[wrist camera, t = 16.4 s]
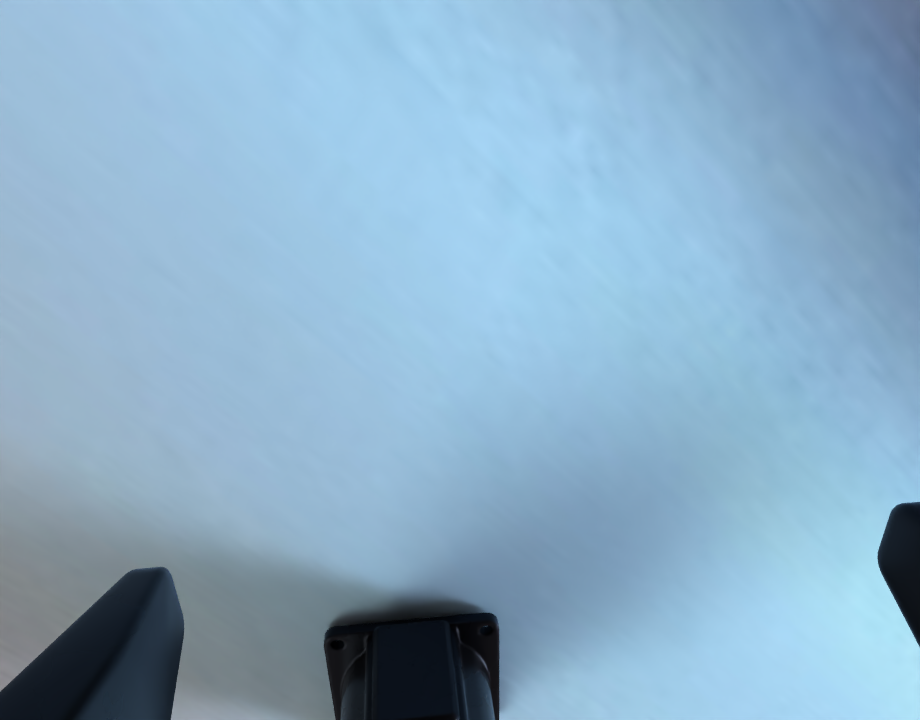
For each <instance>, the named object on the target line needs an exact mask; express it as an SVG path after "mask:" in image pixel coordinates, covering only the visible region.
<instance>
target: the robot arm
mask: <svg viewBox="0 0 920 720" xmlns="http://www.w3.org/2000/svg"><path fill="white" fill-rule="evenodd" d="M878 564H879V568H880V571H881V573H882V575H883V577H884V579H885V581H886V583H887V585H888V587H889V589H890V591H891V593H892V594H893V596H894V598H895V600H896V602H897V604H898V606H899V608H900V610H901V612H902V614H903V616H904V618H905V619H906V621H907V623H908V625H909V627H910V629H911V631H912V633H913V635H914V637H915V639H916V641H917V643H918V645H919V646H920V502H913V503H902V504H899V505H896V506H895V507H894V508H893V510H892V511H891V513H890V516H889V519H888V522H887V525H886V528H885V531H884V534H883V537H882V540H881V543H880V547H879V550H878ZM483 626H487V627H483ZM183 636H184V619H183V614H182V610H181V607H180V603H179V600H178V596H177V593H176V589H175V586H174V582H173V579H172V576H171V573H170V572H169V570H168V569H166V568H164V567H155V568H143V569H135V570H131V571H130V572H128V573H127V574H125V575H124V576H123V577H122V578H121V579H120V580H119V581H118V582H117V583H116V584H115V585H114V586H113V587H111V588H110V589H109V590H108V591H107V592H106V593H105V594H104V595H103V596H102V597H101V598H100V599H99V600H98V601H97V602H95V603H94V604H93V605H92V606H91V607H90V608H89V609H88V610H87V611H86V612H85V613H84V614H83V615H82V616H81V617H79V618H78V619H77V620H76V621H75V622H74V623H73V624H72V625H71V626H70V627H69V628H68V629H67V630H66V631H65V632H63V633H62V634H61V635H60V636H59V637H58V638H57V639H56V640H55V641H54V642H53V643H52V644H51V645H50V646H49V647H47V648H46V649H45V650H44V651H43V652H42V653H41V654H40V655H39V656H38V657H37V658H36V659H35V660H34V661H33V662H31V663H30V664H29V665H28V666H27V667H26V668H25V669H24V670H23V671H22V672H21V673H20V674H19V675H18V676H16V677H15V678H14V679H13V680H12V681H11V682H10V683H9V684H8V685H7V686H6V687H5V688H4V689H3V690H2V691H0V720H171V714H172V707H173V701H174V694H175V688H176V682H177V675H178V669H179V662H180V656H181V650H182V643H183ZM335 640H340V641H335ZM324 650H325V656H326V662H327V668H328V675H329V681H330V687H331V693H332V699H333V705H334V711H335V718H336V720H499V626H498V621H497V617H496V616H495V615H493V614H491V613H476V614H465V615H455V616H444V617H433V618H423V619H412V620H401V621H391V622H380V623H369V624H359V625H348V626H337V627H333V628H330V629H329V630H327V632H326V633H325V639H324Z"/></svg>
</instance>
